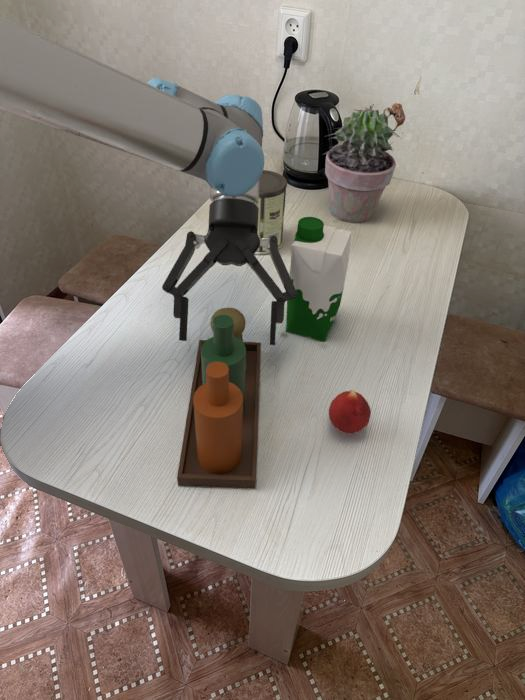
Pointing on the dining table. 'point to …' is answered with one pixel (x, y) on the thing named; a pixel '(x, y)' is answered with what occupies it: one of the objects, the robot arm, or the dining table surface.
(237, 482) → the tray
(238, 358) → the green bottle
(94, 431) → the dining table surface
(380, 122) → the potted plant
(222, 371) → the amber bottle
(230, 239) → the robot arm
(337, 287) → the milk carton
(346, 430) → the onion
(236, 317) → the cork
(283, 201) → the coffee can
